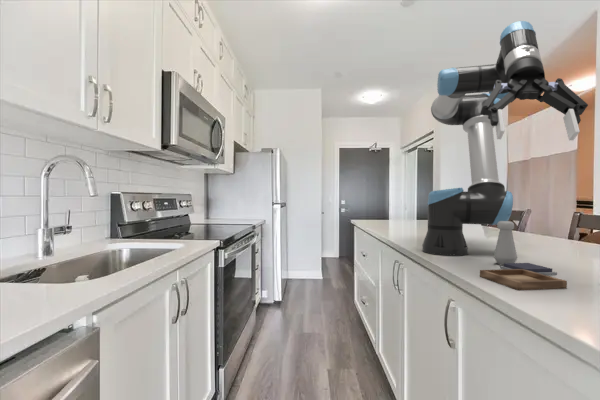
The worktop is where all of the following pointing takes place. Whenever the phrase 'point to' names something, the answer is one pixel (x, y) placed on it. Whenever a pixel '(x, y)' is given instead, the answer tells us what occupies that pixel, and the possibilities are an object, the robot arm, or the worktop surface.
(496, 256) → the salt shaker
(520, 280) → the tray
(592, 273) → the worktop surface
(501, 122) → the robot arm
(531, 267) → the ink pad
